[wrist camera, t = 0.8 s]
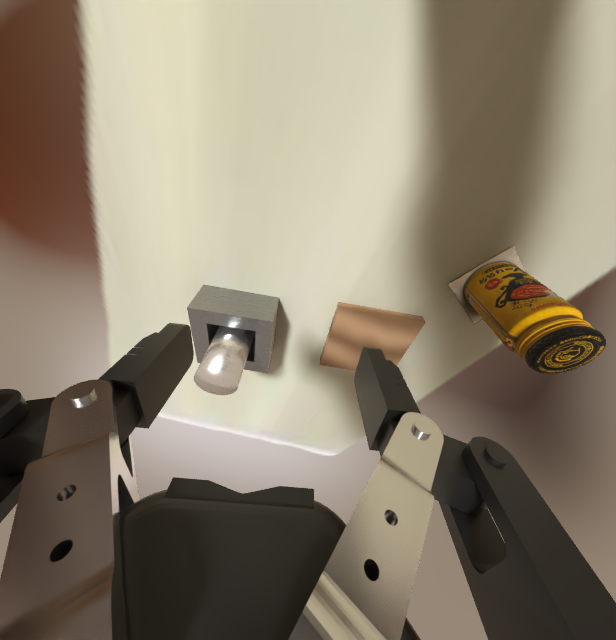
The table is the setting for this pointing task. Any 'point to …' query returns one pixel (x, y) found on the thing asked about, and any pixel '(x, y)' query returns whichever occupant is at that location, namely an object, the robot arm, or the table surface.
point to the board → (368, 334)
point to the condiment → (527, 315)
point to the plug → (224, 361)
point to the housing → (234, 321)
